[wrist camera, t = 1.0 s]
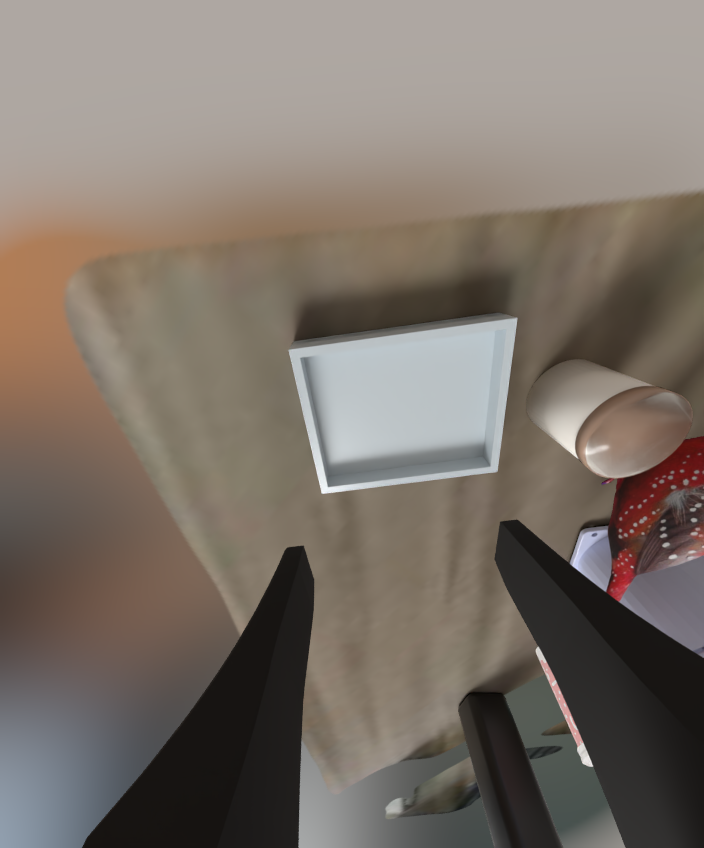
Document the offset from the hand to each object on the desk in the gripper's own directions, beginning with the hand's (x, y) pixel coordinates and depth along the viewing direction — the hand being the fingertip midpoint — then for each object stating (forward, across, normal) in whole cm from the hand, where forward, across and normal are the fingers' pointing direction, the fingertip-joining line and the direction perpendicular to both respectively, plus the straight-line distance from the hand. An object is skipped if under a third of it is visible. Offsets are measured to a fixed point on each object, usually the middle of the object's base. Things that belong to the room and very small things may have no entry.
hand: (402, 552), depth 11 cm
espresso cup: (+10, -13, 0) cm, 16 cm away
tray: (+10, -2, -1) cm, 11 cm away
